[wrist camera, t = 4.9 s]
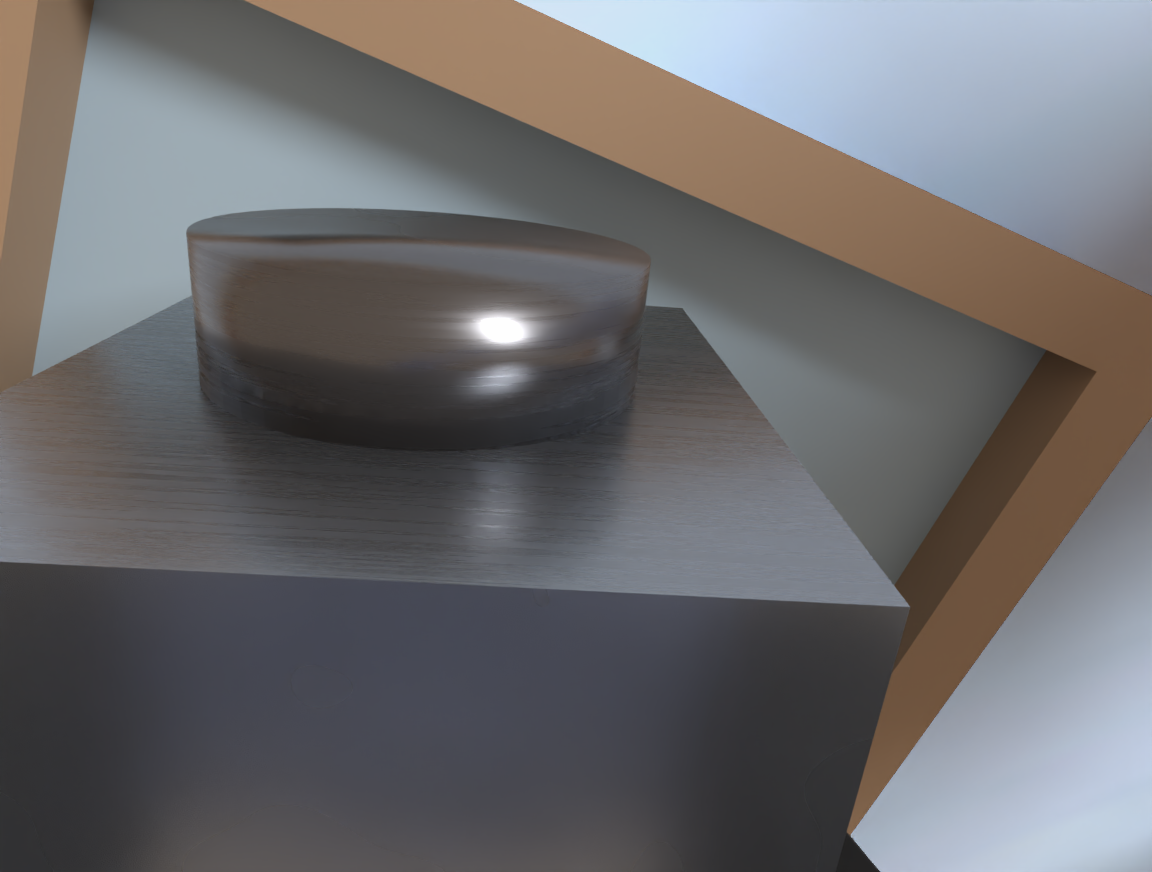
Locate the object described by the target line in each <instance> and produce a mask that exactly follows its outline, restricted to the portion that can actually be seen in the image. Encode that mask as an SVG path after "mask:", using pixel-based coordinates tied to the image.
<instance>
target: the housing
mask: <svg viewBox="0 0 1152 872" xmlns="http://www.w3.org/2000/svg"><path fill="white" fill-rule="evenodd" d="M186 237H187V248H188V259H189V270H190V281H191V292H192V295H191V296H189V297H187V298H185V299H183V300H181V301H179V302H177V303H175V304H173V305H172V306H170V307H168V308H166V309H164V310H162V311H160V312H158V313H156V314H154V315H152V316H150V317H148V318H146V319H144V320H142V321H140V322H138V323H136V324H134V325H132V326H130V327H128V328H126V329H124V330H122V331H120V332H118V333H116V334H115V335H113V336H111V337H109V338H107V339H105V340H103V341H101V342H99V343H97V344H95V345H93V346H91V347H89V348H87V349H85V350H83V351H81V352H79V353H77V354H75V355H73V356H71V357H69V358H67V359H65V360H63V361H61V362H59V363H58V364H56V365H54V366H52V367H50V368H48V369H46V370H44V371H42V372H40V373H38V374H36V375H34V376H32V377H30V378H28V379H26V380H24V381H22V382H20V383H18V384H16V385H14V386H12V387H10V388H8V389H6V390H4V391H2V392H1V393H0V872H836V868H837V865H838V861H839V858H840V854H841V851H842V847H843V843H844V840H845V836H846V833H847V829H848V826H849V822H850V819H851V815H852V812H853V808H854V805H855V801H856V798H857V794H858V790H859V787H860V783H861V780H862V776H863V773H864V769H865V766H866V762H867V759H868V755H869V752H870V748H871V745H872V741H873V737H874V734H875V730H876V727H877V723H878V720H879V716H880V713H881V709H882V706H883V702H884V699H885V695H886V692H887V688H888V684H889V681H890V677H891V674H892V670H893V667H894V663H895V660H896V656H897V653H898V649H899V646H900V642H901V639H902V635H903V631H904V628H905V624H906V621H907V617H908V614H909V610H910V606H909V605H908V603H907V602H906V601H905V599H904V598H903V597H902V595H901V594H900V593H899V591H898V590H897V589H896V588H895V586H894V585H893V584H892V582H891V581H890V580H889V578H888V577H887V576H886V574H885V573H884V572H883V571H882V569H881V568H880V567H879V565H878V564H877V563H876V561H875V560H874V559H873V557H872V556H871V555H870V553H869V552H868V551H867V550H866V548H865V547H864V546H863V544H862V543H861V542H860V540H859V539H858V538H857V536H856V535H855V534H854V533H853V531H852V530H851V529H850V527H849V526H848V525H847V523H846V522H845V521H844V519H843V518H842V517H841V515H840V514H839V513H838V512H837V510H836V509H835V508H834V506H833V505H832V504H831V502H830V501H829V500H828V498H827V497H826V496H825V495H824V493H823V492H822V491H821V489H820V488H819V487H818V485H817V484H816V483H815V481H814V480H813V479H812V477H811V476H810V475H809V474H808V472H807V471H806V470H805V468H804V467H803V466H802V464H801V463H800V462H799V460H798V459H797V458H796V457H795V455H794V454H793V453H792V451H791V450H790V449H789V447H788V446H787V445H786V443H785V442H784V441H783V439H782V438H781V437H780V436H779V434H778V433H777V432H776V430H775V429H774V428H773V426H772V425H771V424H770V422H769V421H768V420H767V419H766V417H765V416H764V415H763V413H762V412H761V411H760V409H759V408H758V407H757V405H756V404H755V403H754V401H753V400H752V399H751V398H750V396H749V395H748V394H747V392H746V391H745V390H744V388H743V387H742V386H741V384H740V383H739V382H738V380H737V379H736V378H735V377H734V375H733V374H732V373H731V371H730V370H729V369H728V367H727V366H726V365H725V363H724V362H723V361H722V360H721V358H720V357H719V356H718V354H717V353H716V352H715V350H714V349H713V348H712V346H711V345H710V344H709V342H708V341H707V340H706V339H705V337H704V336H703V335H702V333H701V332H700V331H699V329H698V328H697V327H696V325H695V324H694V323H693V322H692V320H691V319H690V318H689V316H688V315H687V314H686V312H685V311H684V310H683V308H672V307H659V306H646V298H647V290H648V281H649V273H650V265H651V259H650V256H649V255H648V254H647V253H646V252H644V251H643V250H641V249H639V248H637V247H635V246H633V245H630V244H628V243H625V242H622V241H619V240H616V239H613V238H609V237H605V236H601V235H597V234H593V233H589V232H584V231H579V230H574V229H569V228H564V227H558V226H552V225H546V224H540V223H533V222H526V221H519V220H511V219H503V218H494V217H485V216H476V215H465V214H454V213H441V212H428V211H411V210H391V209H362V208H302V209H276V210H261V211H249V212H240V213H232V214H226V215H220V216H215V217H211V218H207V219H203V220H200V221H198V222H195V223H193V224H192V225H190V226H189V227H188V228H187V231H186Z"/></svg>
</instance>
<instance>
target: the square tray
mask: <svg viewBox="0 0 1152 872" xmlns="http://www.w3.org/2000/svg"><path fill="white" fill-rule="evenodd" d="M302 208H362V209H391V210H411V211H428V212H441V213H454V214H465V215H476V216H485V217H494V218H503V219H511V220H519V221H526V222H533V223H540V224H546V225H552V226H558V227H564V228H569V229H574V230H579V231H584V232H589V233H593V234H597V235H601V236H605V237H609V238H613V239H616V240H619V241H622V242H625V243H628V244H630V245H633V246H635V247H637V248H639V249H641V250H643V251H644V252H646V253H647V254H648V255H649V256H650V259H651V265H650V273H649V281H648V290H647V298H646V306H659V307H672V308H683V310H684V311H685V312H686V314H687V315H688V316H689V318H690V319H691V320H692V322H693V323H694V324H695V325H696V327H697V328H698V329H699V331H700V332H701V333H702V335H703V336H704V337H705V339H706V340H707V341H708V342H709V344H710V345H711V346H712V348H713V349H714V350H715V352H716V353H717V354H718V356H719V357H720V358H721V360H722V361H723V362H724V363H725V365H726V366H727V367H728V369H729V370H730V371H731V373H732V374H733V375H734V377H735V378H736V379H737V380H738V382H739V383H740V384H741V386H742V387H743V388H744V390H745V391H746V392H747V394H748V395H749V396H750V398H751V399H752V400H753V401H754V403H755V404H756V405H757V407H758V408H759V409H760V411H761V412H762V413H763V415H764V416H765V417H766V419H767V420H768V421H769V422H770V424H771V425H772V426H773V428H774V429H775V430H776V432H777V433H778V434H779V436H780V437H781V438H782V439H783V441H784V442H785V443H786V445H787V446H788V447H789V449H790V450H791V451H792V453H793V454H794V455H795V457H796V458H797V459H798V460H799V462H800V463H801V464H802V466H803V467H804V468H805V470H806V471H807V472H808V474H809V475H810V476H811V477H812V479H813V480H814V481H815V483H816V484H817V485H818V487H819V488H820V489H821V491H822V492H823V493H824V495H825V496H826V497H827V498H828V500H829V501H830V502H831V504H832V505H833V506H834V508H835V509H836V510H837V512H838V513H839V514H840V515H841V517H842V518H843V519H844V521H845V522H846V523H847V525H848V526H849V527H850V529H851V530H852V531H853V533H854V534H855V535H856V536H857V538H858V539H859V540H860V542H861V543H862V544H863V546H864V547H865V548H866V550H867V551H868V552H869V553H870V555H871V556H872V557H873V559H874V560H875V561H876V563H877V564H878V565H879V567H880V568H881V569H882V571H883V572H884V573H885V574H886V576H887V577H888V578H889V580H890V581H891V582H892V584H893V585H894V586H895V588H896V589H897V590H898V591H899V593H900V594H901V595H902V597H903V598H904V599H905V601H906V602H907V603H908V605H909V606H910V610H909V614H908V617H907V621H906V624H905V628H904V631H903V635H902V639H901V642H900V646H899V649H898V653H897V656H896V660H895V663H894V667H893V670H892V674H891V677H890V681H889V684H888V688H887V692H886V695H885V699H884V702H883V706H882V709H881V713H880V716H879V720H878V723H877V727H876V730H875V734H874V737H873V741H872V745H871V748H870V752H869V755H868V759H867V762H866V766H865V769H864V773H863V776H862V780H861V783H860V787H859V790H858V794H857V798H856V801H855V805H854V808H853V812H852V815H851V819H850V822H849V826H848V829H847V833H848V834H849V835H851V833H852V832H853V830H854V829H855V828H856V826H857V825H858V824H859V822H860V821H861V819H862V818H863V817H864V815H865V814H866V812H867V811H868V810H869V808H870V807H871V805H872V804H873V803H874V801H875V800H876V799H877V797H878V796H879V794H880V793H881V792H882V790H883V789H884V787H885V786H886V785H887V783H888V782H889V781H890V779H891V778H892V776H893V775H894V774H895V772H896V771H897V769H898V768H899V767H900V765H901V764H902V762H903V761H904V760H905V758H906V757H907V756H908V754H909V753H910V751H911V750H912V749H913V747H914V746H915V744H916V743H917V742H918V740H919V739H920V737H921V736H922V735H923V733H924V732H925V731H926V729H927V728H928V726H929V725H930V724H931V722H932V721H933V719H934V718H935V717H936V715H937V714H938V712H939V711H940V710H941V708H942V707H943V706H944V704H945V703H946V701H947V700H948V699H949V697H950V696H951V694H952V693H953V692H954V690H955V689H956V688H957V686H958V685H959V683H960V682H961V681H962V679H963V678H964V676H965V675H966V674H967V672H968V671H969V669H970V668H971V667H972V665H973V664H974V663H975V661H976V660H977V658H978V657H979V656H980V654H981V653H982V651H983V650H984V649H985V647H986V646H987V644H988V643H989V642H990V640H991V639H992V638H993V636H994V635H995V633H996V632H997V631H998V629H999V628H1000V626H1001V625H1002V624H1003V622H1004V621H1005V620H1006V618H1007V617H1008V615H1009V614H1010V613H1011V611H1012V610H1013V608H1014V607H1015V606H1016V604H1017V603H1018V601H1019V600H1020V599H1021V597H1022V596H1023V595H1024V593H1025V592H1026V590H1027V589H1028V588H1029V586H1030V585H1031V583H1032V582H1033V581H1034V579H1035V578H1036V576H1037V575H1038V574H1039V572H1040V571H1041V570H1042V568H1043V567H1044V565H1045V564H1046V563H1047V561H1048V560H1049V558H1050V557H1051V556H1052V554H1053V553H1054V552H1055V550H1056V549H1057V547H1058V546H1059V545H1060V543H1061V542H1062V540H1063V539H1064V538H1065V536H1066V535H1067V533H1068V532H1069V531H1070V529H1071V528H1072V527H1073V525H1074V524H1075V522H1076V521H1077V520H1078V518H1079V517H1080V515H1081V514H1082V513H1083V511H1084V510H1085V508H1086V507H1087V506H1088V504H1089V503H1090V502H1091V500H1092V499H1093V497H1094V496H1095V495H1096V493H1097V492H1098V490H1099V489H1100V488H1101V486H1102V485H1103V483H1104V482H1105V481H1106V479H1107V478H1108V477H1109V475H1110V474H1111V472H1112V471H1113V470H1114V468H1115V467H1116V465H1117V464H1118V463H1119V461H1120V460H1121V459H1122V457H1123V456H1124V454H1125V453H1126V452H1127V450H1128V449H1129V447H1130V446H1131V445H1132V443H1133V442H1134V440H1135V439H1136V438H1137V436H1138V435H1139V434H1140V432H1141V431H1142V429H1143V428H1144V427H1145V425H1146V424H1147V422H1148V421H1149V420H1150V418H1151V417H1152V296H1151V295H1149V294H1147V293H1145V292H1142V291H1140V290H1138V289H1136V288H1134V287H1132V286H1129V285H1127V284H1125V283H1123V282H1121V281H1119V280H1116V279H1114V278H1112V277H1110V276H1108V275H1106V274H1104V273H1101V272H1099V271H1097V270H1095V269H1093V268H1091V267H1088V266H1086V265H1084V264H1082V263H1080V262H1078V261H1075V260H1073V259H1071V258H1069V257H1067V256H1065V255H1063V254H1060V253H1058V252H1056V251H1054V250H1052V249H1050V248H1047V247H1045V246H1043V245H1041V244H1039V243H1037V242H1034V241H1032V240H1030V239H1028V238H1026V237H1024V236H1022V235H1019V234H1017V233H1015V232H1013V231H1011V230H1009V229H1006V228H1004V227H1002V226H1000V225H998V224H996V223H993V222H991V221H989V220H987V219H985V218H983V217H981V216H978V215H976V214H974V213H972V212H970V211H968V210H965V209H963V208H961V207H959V206H957V205H955V204H952V203H950V202H948V201H946V200H944V199H942V198H940V197H937V196H935V195H933V194H931V193H929V192H927V191H924V190H922V189H920V188H918V187H916V186H914V185H911V184H909V183H907V182H905V181H903V180H901V179H899V178H896V177H894V176H892V175H890V174H888V173H886V172H883V171H881V170H879V169H877V168H875V167H873V166H870V165H868V164H866V163H864V162H862V161H860V160H858V159H855V158H853V157H851V156H849V155H847V154H845V153H842V152H840V151H838V150H836V149H834V148H832V147H830V146H827V145H825V144H823V143H821V142H819V141H817V140H814V139H812V138H810V137H808V136H806V135H804V134H801V133H799V132H797V131H795V130H793V129H791V128H789V127H786V126H784V125H782V124H780V123H778V122H776V121H773V120H771V119H769V118H767V117H765V116H763V115H760V114H758V113H756V112H754V111H752V110H750V109H748V108H745V107H743V106H741V105H739V104H737V103H735V102H732V101H730V100H728V99H726V98H724V97H722V96H719V95H717V94H715V93H713V92H711V91H709V90H707V89H704V88H702V87H700V86H698V85H696V84H694V83H691V82H689V81H687V80H685V79H683V78H681V77H678V76H676V75H674V74H672V73H670V72H668V71H666V70H663V69H661V68H659V67H657V66H655V65H653V64H650V63H648V62H646V61H644V60H642V59H640V58H637V57H635V56H633V55H631V54H629V53H627V52H625V51H622V50H620V49H618V48H616V47H614V46H612V45H609V44H607V43H605V42H603V41H601V40H599V39H596V38H594V37H592V36H590V35H588V34H586V33H584V32H581V31H579V30H577V29H575V28H573V27H571V26H568V25H566V24H564V23H562V22H560V21H558V20H555V19H553V18H551V17H549V16H547V15H545V14H543V13H540V12H538V11H536V10H534V9H532V8H530V7H527V6H525V5H523V4H521V3H519V2H517V1H514V0H0V393H1V392H2V391H4V390H6V389H8V388H10V387H12V386H14V385H16V384H18V383H20V382H22V381H24V380H26V379H28V378H30V377H32V376H34V375H36V374H38V373H40V372H42V371H44V370H46V369H48V368H50V367H52V366H54V365H56V364H58V363H59V362H61V361H63V360H65V359H67V358H69V357H71V356H73V355H75V354H77V353H79V352H81V351H83V350H85V349H87V348H89V347H91V346H93V345H95V344H97V343H99V342H101V341H103V340H105V339H107V338H109V337H111V336H113V335H115V334H116V333H118V332H120V331H122V330H124V329H126V328H128V327H130V326H132V325H134V324H136V323H138V322H140V321H142V320H144V319H146V318H148V317H150V316H152V315H154V314H156V313H158V312H160V311H162V310H164V309H166V308H168V307H170V306H172V305H173V304H175V303H177V302H179V301H181V300H183V299H185V298H187V297H189V296H191V295H192V292H191V281H190V270H189V259H188V248H187V237H186V231H187V228H188V227H189V226H190V225H192V224H193V223H195V222H198V221H200V220H203V219H207V218H211V217H215V216H220V215H226V214H232V213H240V212H249V211H261V210H276V209H302Z"/></svg>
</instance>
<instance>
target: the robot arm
mask: <svg viewBox="0 0 1152 872" xmlns="http://www.w3.org/2000/svg"><path fill="white" fill-rule="evenodd" d="M836 872H880V871H879V870H878V869H877V868H876V866H875V865H874V864H873V863H872V862H871V861H870V859H869V858H868V857H867V856H866V855H865V853H864V852H863V851H862V850H861V848H860V847H859V846H858V845H857V844H856V842H855V841H854V840H853V839H852V838H851V836H850V835H849V834H848V833H846V836H845V840H844V843H843V847H842V851H841V854H840V858H839V861H838V865H837V868H836Z"/></svg>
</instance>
